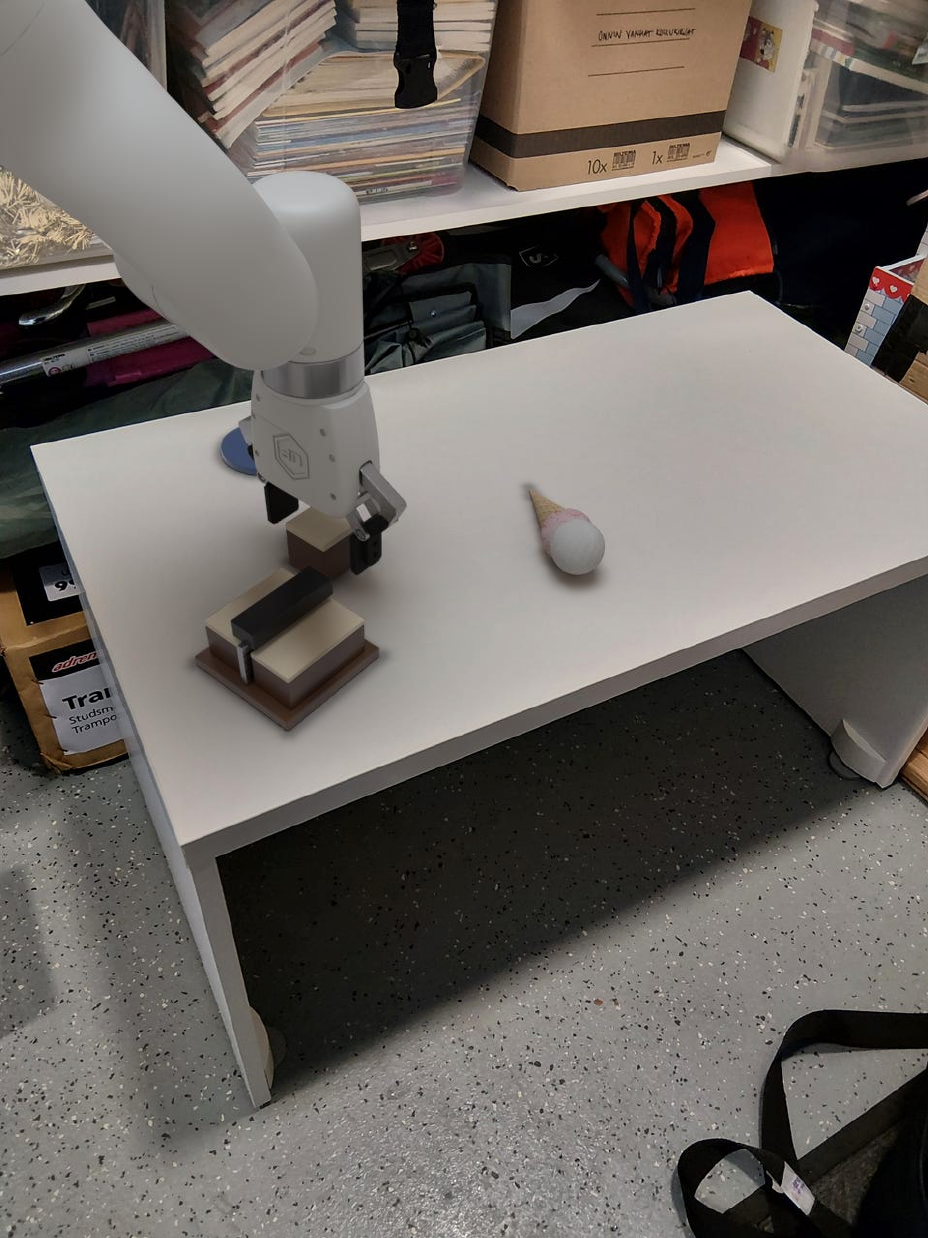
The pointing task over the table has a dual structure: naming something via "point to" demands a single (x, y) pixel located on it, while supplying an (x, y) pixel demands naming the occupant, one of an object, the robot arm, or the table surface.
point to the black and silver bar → (277, 614)
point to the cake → (289, 655)
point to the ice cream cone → (569, 536)
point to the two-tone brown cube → (319, 542)
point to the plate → (237, 453)
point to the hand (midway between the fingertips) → (324, 540)
